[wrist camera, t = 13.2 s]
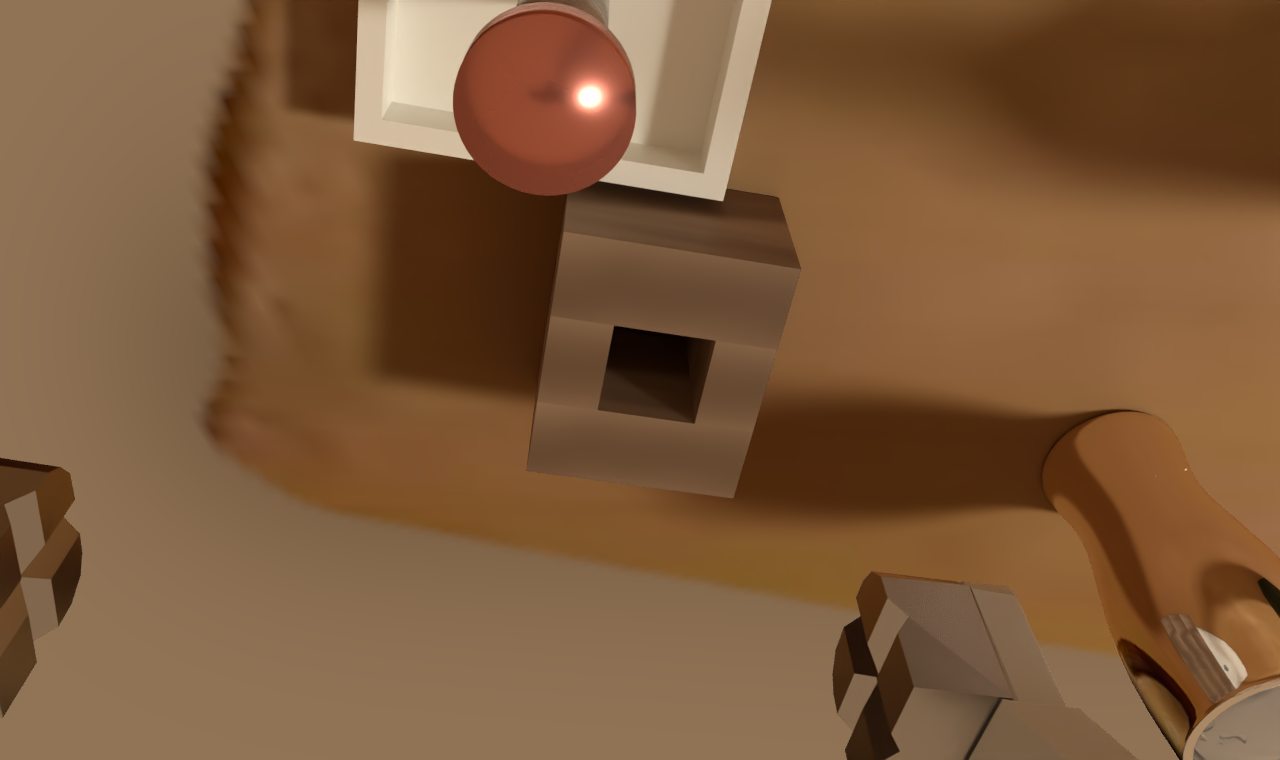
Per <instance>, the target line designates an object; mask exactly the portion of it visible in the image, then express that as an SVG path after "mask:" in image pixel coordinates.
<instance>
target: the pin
mask: <svg viewBox="0 0 1280 760" xmlns="http://www.w3.org/2000/svg"><path fill="white" fill-rule="evenodd" d="M609 3H610V0H518V2H517V5H516V7H514V8H511V9H509V10H507V11H505V12H503V13H501V14H499V15H498V16H496V17H495V18H493V19H492V20H491V21H490V22H488V23H487V24H486V25H485V26H484V27H483V28H482V29H481V30H480V32H479V33H478V34H477V35H476V36H475V38H474V40H473V41H472V43H471V44H470V46H469V48H468V50H467V53H466V55H465V57H464V59H463V62H462V64H461V66H460V68H459V71H458V74H457V77H456V80H455V85H454V91H453V113H454V119H455V123H456V127H457V131H458V133H459V136H460V138H461V141H462V142H463V144H464V146H465V148H466V150H467V151H468V153H469V154H470V155H471V157H472V158H473V160H474V161H475V162H476V163H477V164H478V165H479V166H480V167H481V168H482V169H483V170H484V171H485V172H486V173H488V174H489V175H490V176H491V177H493V178H494V179H496V180H497V181H499V182H500V183H502V184H504V185H506V186H508V187H510V188H513V189H515V190H518V191H521V192H525V193H529V194H534V195H544V196H549V195H562V194H568V193H572V192H576V191H579V190H581V189H584V188H586V187H589V186H590V185H592V184H594V183H596V182H597V181H599V180H600V179H602V178H603V177H604V176H606V175H607V174H608V173H609V172H610V171H611V170H612V169H613V168H614V167H615V166H616V165H617V163H618V162H619V161H620V159H621V158H622V157H623V155H624V153H625V151H626V150H627V148H628V146H629V143H630V141H631V138H632V135H633V131H634V128H635V121H636V85H635V78H634V73H633V69H632V66H631V63H630V60H629V58H628V56H627V53H626V51H625V50H624V48H623V46H622V45H621V43H620V42H619V40H618V39H617V38H616V37H615V35H614V34H613V33H612V32H611V31H610V30H609V29H608V25H609Z"/></svg>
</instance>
